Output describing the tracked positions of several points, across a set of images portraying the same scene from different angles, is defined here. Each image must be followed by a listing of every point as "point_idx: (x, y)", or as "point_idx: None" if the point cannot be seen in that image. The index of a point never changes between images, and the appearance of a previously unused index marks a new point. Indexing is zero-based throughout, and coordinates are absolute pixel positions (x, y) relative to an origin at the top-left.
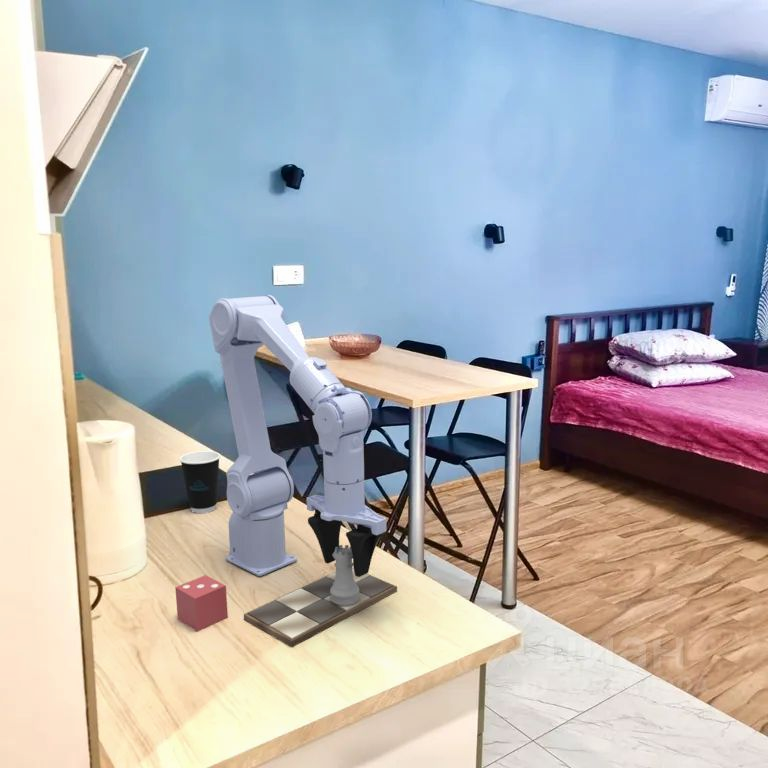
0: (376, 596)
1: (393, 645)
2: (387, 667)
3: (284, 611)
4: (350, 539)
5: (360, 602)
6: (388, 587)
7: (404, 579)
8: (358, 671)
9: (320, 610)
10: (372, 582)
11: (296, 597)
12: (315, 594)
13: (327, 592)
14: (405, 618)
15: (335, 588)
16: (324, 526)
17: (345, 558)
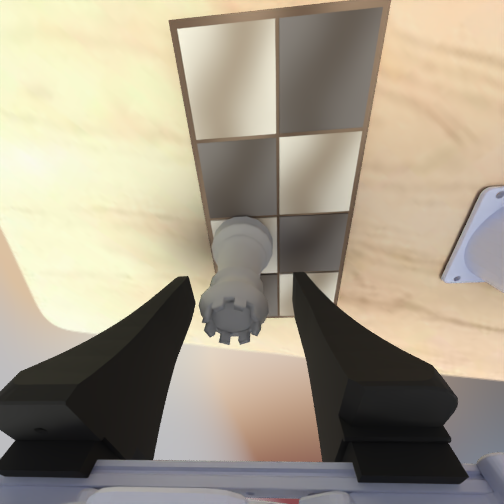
0: None
1: (82, 209)
2: (15, 152)
3: (300, 110)
4: (77, 369)
5: None
6: None
7: None
8: (16, 94)
9: (242, 180)
10: None
11: (326, 177)
12: (303, 216)
13: (290, 236)
14: (150, 273)
15: (241, 235)
16: (329, 381)
17: (202, 297)
